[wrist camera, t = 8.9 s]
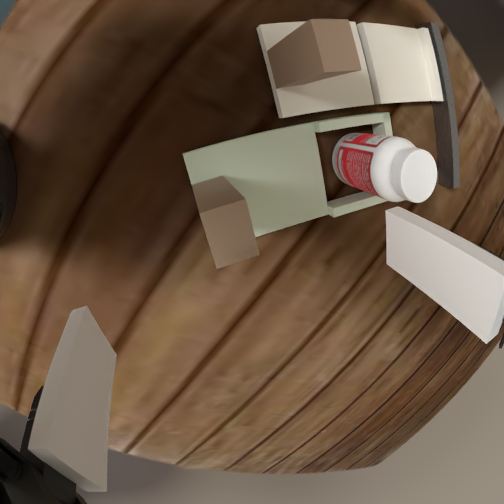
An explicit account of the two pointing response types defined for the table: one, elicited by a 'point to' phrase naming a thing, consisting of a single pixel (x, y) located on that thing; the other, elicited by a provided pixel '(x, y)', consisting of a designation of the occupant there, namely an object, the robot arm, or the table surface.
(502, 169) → the table surface
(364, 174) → the pill bottle
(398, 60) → the white strip
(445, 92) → the end bar
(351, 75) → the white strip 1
